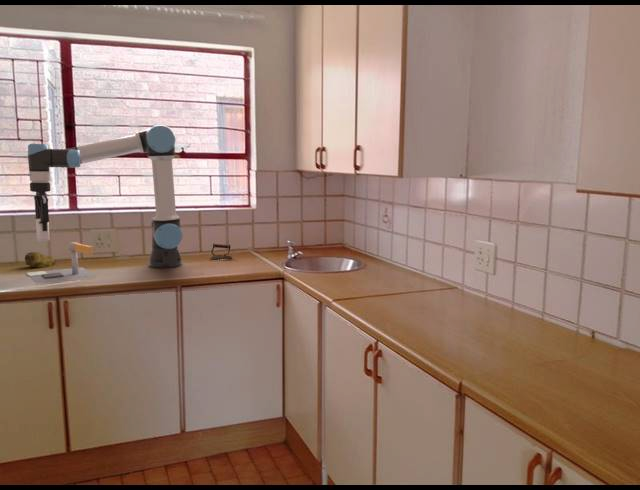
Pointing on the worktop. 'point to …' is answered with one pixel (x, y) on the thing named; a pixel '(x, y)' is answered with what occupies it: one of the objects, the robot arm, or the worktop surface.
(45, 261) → the potato
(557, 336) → the worktop surface
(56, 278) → the white stand
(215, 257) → the clothes iron
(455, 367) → the worktop surface
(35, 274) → the pad
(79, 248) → the orange bar
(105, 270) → the worktop surface
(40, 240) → the plug
